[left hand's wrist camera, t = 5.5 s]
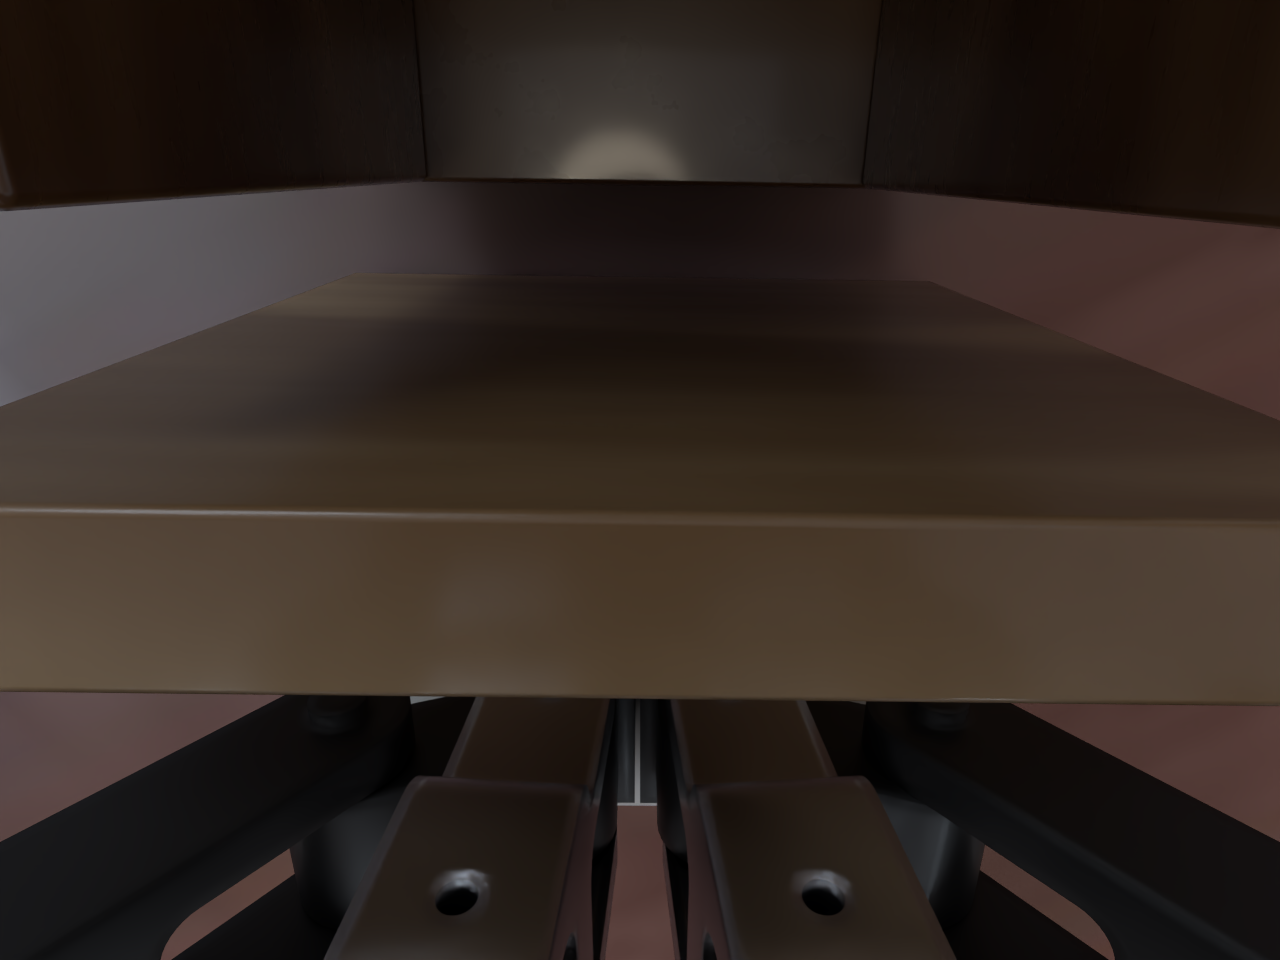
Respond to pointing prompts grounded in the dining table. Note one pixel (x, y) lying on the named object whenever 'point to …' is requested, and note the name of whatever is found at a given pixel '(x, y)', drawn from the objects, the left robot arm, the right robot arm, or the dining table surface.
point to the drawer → (643, 367)
